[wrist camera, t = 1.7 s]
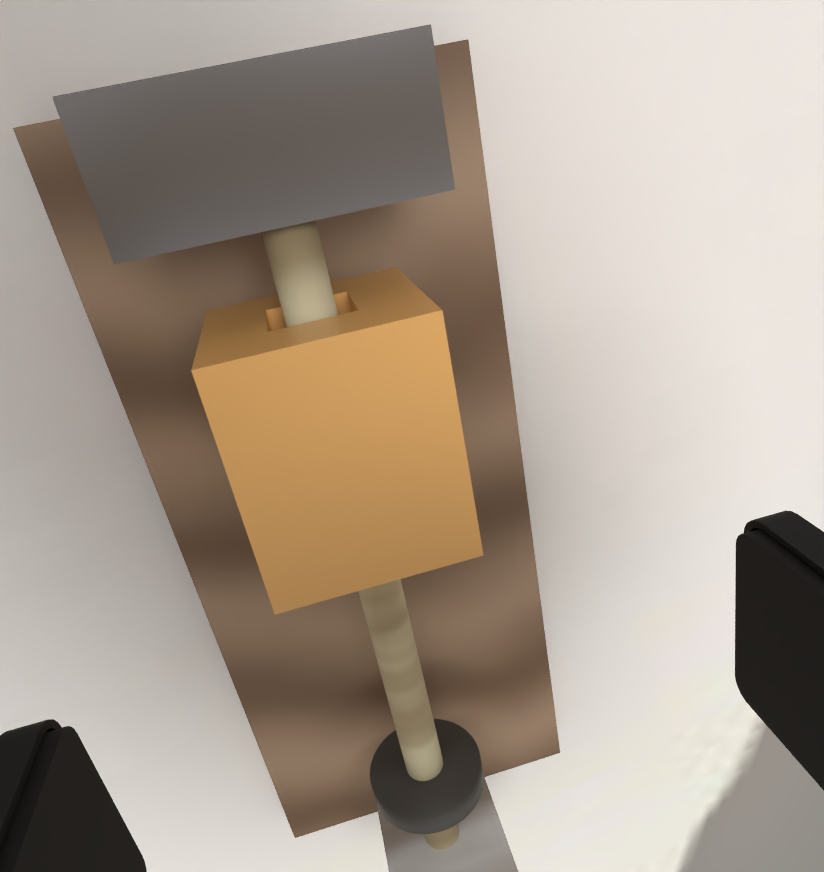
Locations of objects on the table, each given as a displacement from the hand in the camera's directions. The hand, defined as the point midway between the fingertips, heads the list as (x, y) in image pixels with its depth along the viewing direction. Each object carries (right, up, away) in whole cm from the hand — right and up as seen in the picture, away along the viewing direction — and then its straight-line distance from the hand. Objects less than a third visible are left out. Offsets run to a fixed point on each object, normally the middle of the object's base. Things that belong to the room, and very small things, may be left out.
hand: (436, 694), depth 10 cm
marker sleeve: (-3, +5, +10) cm, 11 cm away
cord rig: (-2, +1, +15) cm, 16 cm away
